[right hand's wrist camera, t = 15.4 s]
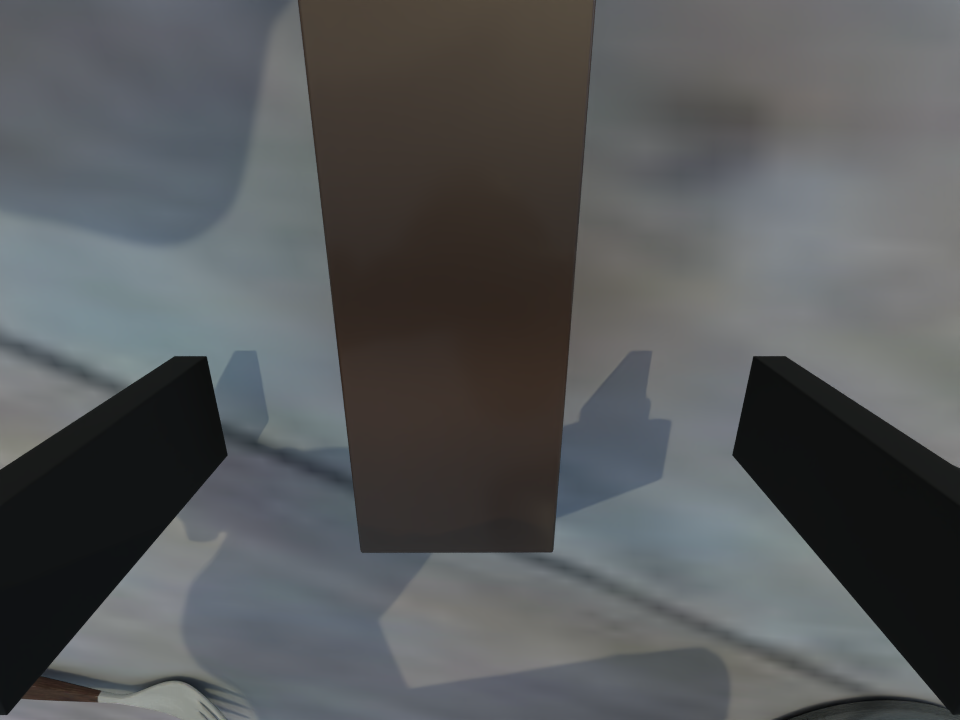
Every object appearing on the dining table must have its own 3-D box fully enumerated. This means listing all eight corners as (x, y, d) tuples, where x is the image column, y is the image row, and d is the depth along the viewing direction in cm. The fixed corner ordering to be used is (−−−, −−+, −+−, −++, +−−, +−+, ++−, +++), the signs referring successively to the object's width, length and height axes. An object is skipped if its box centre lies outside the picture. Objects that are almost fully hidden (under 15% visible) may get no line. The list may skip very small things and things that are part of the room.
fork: (-111, 635, 22) (-164, 679, 21) (257, 690, 24) (239, 735, 22) (-99, 675, 23) (-149, 720, 22) (254, 724, 25) (236, 771, 23)
